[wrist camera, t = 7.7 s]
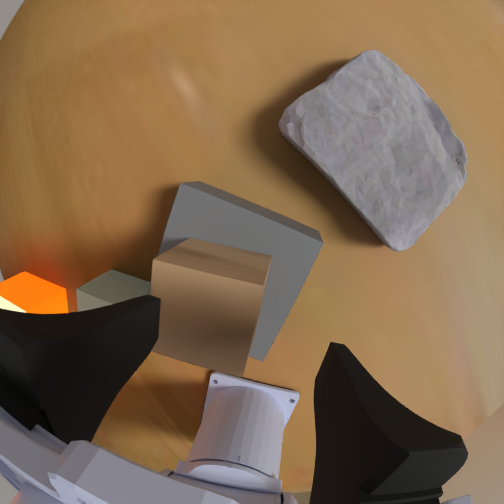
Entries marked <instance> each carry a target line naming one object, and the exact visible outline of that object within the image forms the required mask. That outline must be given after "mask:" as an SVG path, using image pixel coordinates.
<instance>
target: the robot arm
mask: <svg viewBox="0 0 504 504" xmlns="http://www.w3.org/2000/svg"><path fill="white" fill-rule="evenodd" d="M160 306H161V298H158V297H155V296H152V295H143V296H139V297H136V298H132V299H129V300H125V301H122V302H118V303H115V304H111V305H107V306H103V307H99V308H95V309H91V310H85V311H79V312H71V313H55V314H38V313H25V312H18V311H12V310H6V309H1V308H0V474H1V475H2V476H3V477H4V478H5V479H6V480H7V481H8V482H9V483H10V484H11V485H12V486H13V487H15V488H16V489H17V490H18V491H19V492H18V494H17V495H16V496H15V497H14V499H13V500H12V501H11V503H10V504H297V501H296V500H295V499H294V498H293V497H292V495H291V493H290V492H281V486H282V480H281V479H278V477H279V468H280V460H281V450H282V441H283V430H284V428H285V426H286V424H287V422H288V420H289V418H290V416H291V414H292V412H293V410H294V407H295V405H296V403H297V401H298V399H299V393H298V392H297V391H293V390H288V389H283V388H279V387H274V386H270V385H266V384H262V383H258V382H254V381H250V380H246V379H242V378H238V377H235V376H231V375H228V374H224V373H221V372H217V371H214V372H212V374H211V376H210V381H209V386H208V391H207V396H206V401H205V406H204V412H203V417H202V422H201V425H200V427H199V430H198V432H197V435H196V437H195V440H194V442H193V444H192V447H191V449H190V452H189V454H188V457H187V459H186V461H181V460H179V461H178V463H177V465H176V468H175V470H174V471H173V470H170V469H164V470H162V471H161V472H157V471H154V470H152V469H149V468H147V467H144V466H142V465H139V464H137V463H135V462H133V461H130V460H128V459H126V458H124V457H122V456H119V455H117V454H115V453H113V452H111V451H109V450H107V449H105V448H103V447H101V446H98V445H96V444H93V443H91V441H92V439H93V437H94V435H95V433H96V431H97V429H98V427H99V425H100V423H101V421H102V419H103V417H104V416H105V414H106V412H107V410H108V408H109V407H110V405H111V404H112V402H113V400H114V399H115V397H116V395H117V394H118V392H119V391H120V390H121V388H122V387H123V386H124V384H125V383H126V382H127V381H128V380H129V378H130V377H131V376H132V375H133V374H134V372H135V371H136V370H137V369H138V367H139V366H140V365H141V364H142V363H143V361H144V360H145V359H146V358H147V356H148V355H149V353H150V352H151V350H152V349H153V347H154V345H155V343H156V342H157V340H158V338H159V320H160ZM214 380H217V381H214ZM290 399H294V400H290ZM314 413H315V428H316V459H315V469H314V477H313V485H312V491H311V497H310V503H309V504H440V503H439V499H438V497H441V496H442V494H443V491H442V487H441V486H442V485H443V484H445V483H446V482H447V481H448V480H449V479H450V478H451V477H452V476H453V475H454V474H456V472H458V471H459V469H460V468H461V467H462V466H463V465H464V463H465V461H466V459H467V456H468V452H467V449H466V447H465V445H464V442H463V440H462V437H461V436H460V435H458V434H455V433H453V432H450V431H448V430H445V429H443V428H441V427H438V426H436V425H434V424H432V423H431V422H429V421H427V420H425V419H423V418H422V417H420V416H418V415H417V414H415V413H414V412H412V411H411V410H409V409H408V408H406V407H405V406H404V405H402V404H401V403H400V402H398V401H397V400H396V399H395V398H394V397H392V396H391V395H390V394H389V393H388V392H387V391H386V390H385V389H384V388H383V387H382V386H381V385H380V384H379V383H378V382H377V381H376V380H375V379H374V378H373V377H372V376H371V375H370V374H369V373H368V371H367V370H366V369H365V368H364V367H363V366H362V364H361V363H360V362H359V361H358V360H357V358H356V357H355V356H354V355H353V353H352V352H351V351H350V350H349V349H348V348H347V347H346V346H345V345H344V344H339V343H334V342H330V345H329V347H328V350H327V352H326V355H325V357H324V360H323V362H322V364H321V367H320V369H319V371H318V374H317V376H316V378H315V387H314ZM441 504H473V502H472V499H471V496H470V495H465V496H462V497H458V498H454V499H450V500H447V501H445V502H443V503H441Z"/></svg>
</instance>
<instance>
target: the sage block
mask: <svg viewBox="0 0 504 504" xmlns="http://www.w3.org/2000/svg"><path fill="white" fill-rule="evenodd" d="M149 286H150V282H148V281H145V280H142V279H139V278H136V277H133V276H130V275H127V274H124V273H121V272H118V271H116V270H113V269H111V270H109V271H107V272H105V273H103V274H102V275H100V276H98V277H96V278H94V279H93V280H91V281H89V282H87V283H86V284H84V285H82V286H80V287H79V288H77V289H76V292H77V311H78V312H79V311H85V310H91V309H95V308H99V307H103V306H107V305H111V304H115V303H118V302H122V301H125V300H129V299H132V298H136V297H139V296H143V295H147V294H148V290H149Z"/></svg>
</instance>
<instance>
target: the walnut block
mask: <svg viewBox="0 0 504 504" xmlns="http://www.w3.org/2000/svg"><path fill="white" fill-rule="evenodd" d="M271 259H272V256H271V255H267V254H262V253H258V252H253V251H249V250H244V249H239V248H235V247H230V246H226V245H221V244H217V243H212V242H207V241H203V240H198V239H194V238H189V239H187V240H185V241H184V242H182V243H180V244H178V245H177V246H175V247H173V248H171V249H170V250H168V251H166V252H164V253H163V254H161V255H159V256H158V257H156V258H154V259H153V263H152V277H151V293H150V295H152V296H155V297H158V298H161V306H160V320H159V338H158V340H157V342H156V343H155V345H154V347H153V349H152V350H151V351H153V352H156V353H159V354H162V355H165V356H168V357H171V358H174V359H177V360H180V361H183V362H187V363H190V364H193V365H197V366H200V367H204V368H207V369H211V370H215V371H219V372H222V373H226V374H230V375H234V376H238V377H243V375H244V371H245V367H246V364H247V360H248V357H249V353H250V349H251V346H252V342H253V338H254V335H255V331H256V327H257V322H258V318H259V313H260V309H261V304H262V300H263V295H264V291H265V286H266V282H267V277H268V273H269V268H270V263H271Z"/></svg>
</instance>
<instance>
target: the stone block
mask: <svg viewBox="0 0 504 504" xmlns="http://www.w3.org/2000/svg"><path fill="white" fill-rule="evenodd" d="M278 126H279V129H280V131H281V133H282V135H283V136H284V137H285V138H286V139H287V140H288V141H289V142H290V143H291V144H292V145H293V146H294V147H295V148H296V149H297V150H298V151H299V152H300V153H301V154H302V155H303V156H305V157H306V158H307V159H308V160H309V161H310V162H311V163H312V164H313V165H314V166H315V167H316V169H317V170H318V171H319V172H320V173H321V174H322V175H323V176H324V177H325V178H326V179H327V180H328V181H329V182H330V183H331V184H332V185H333V186H334V187H335V188H336V189H337V190H338V191H339V193H340V194H341V195H342V196H343V197H344V198H345V199H346V200H347V201H348V202H349V203H350V204H351V206H352V207H353V208H354V209H355V210H356V211H357V212H358V213H359V215H360V216H361V217H362V218H363V219H364V221H365V222H366V223H367V224H368V225H369V226H370V228H371V229H372V230H373V231H374V232H375V234H376V235H377V236H378V238H379V239H380V240H381V241H382V242H383V243H384V244H385V245H386V246H387V247H389V248H391V249H392V250H393V251H397V252H399V251H404V250H406V249H408V248H409V247H411V246H412V245H413V244H414V243H415V242H416V240H417V239H418V238H419V237H420V236H421V235H422V234H423V233H424V232H425V230H426V229H427V227H428V226H429V225H430V224H431V223H432V222H433V221H434V220H435V219H436V218H437V217H438V216H439V215H440V213H441V212H442V211H443V210H444V209H445V208H446V207H447V206H448V205H449V204H450V203H451V201H452V200H453V199H454V197H455V196H456V195H457V194H458V192H459V191H460V190H461V188H462V187H463V185H464V183H465V181H466V178H467V172H466V168H465V166H466V165H467V164H468V160H467V156H466V150H465V146H464V144H463V142H462V141H461V140H460V139H459V138H458V137H457V136H456V135H455V134H454V132H453V131H452V129H451V125H450V123H449V121H448V119H447V118H446V116H445V115H444V113H443V112H442V111H441V109H440V108H439V107H438V105H437V104H436V103H435V102H434V101H433V100H432V99H431V98H429V97H428V96H427V94H426V92H425V91H424V90H423V89H422V87H421V86H420V85H419V84H418V83H416V82H415V80H414V79H412V78H411V77H410V76H408V75H407V74H405V73H404V72H403V71H402V69H401V68H400V67H399V66H397V65H396V64H395V63H394V62H393V61H391V60H390V59H389V58H388V57H386V56H385V55H384V54H382V53H381V52H379V51H377V50H372V51H370V50H369V51H364V52H362V53H360V54H359V55H358V56H356V57H353V58H352V59H351V60H349V61H348V62H347V63H346V64H344V65H343V66H342V67H341V68H340V69H338V70H335V71H334V72H333V73H332V74H330V75H329V76H328V78H327V79H326V80H325V82H323V83H321V84H320V85H318V86H317V87H315V88H314V89H312V90H310V91H308V92H306V93H304V94H303V95H301V96H300V97H299V98H297V99H296V100H295V101H294V102H293V103H292V104H290V105H289V106H288V107H287V108H286V109H285V110H284V113H283V115H282V117H281V119H280V121H279V124H278Z"/></svg>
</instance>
